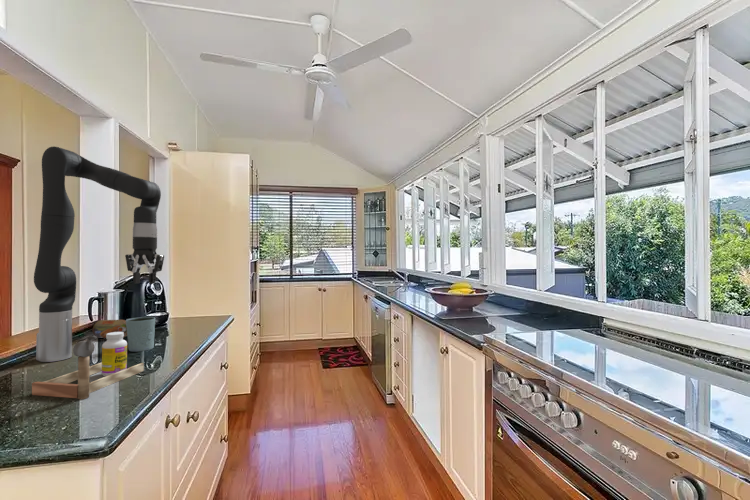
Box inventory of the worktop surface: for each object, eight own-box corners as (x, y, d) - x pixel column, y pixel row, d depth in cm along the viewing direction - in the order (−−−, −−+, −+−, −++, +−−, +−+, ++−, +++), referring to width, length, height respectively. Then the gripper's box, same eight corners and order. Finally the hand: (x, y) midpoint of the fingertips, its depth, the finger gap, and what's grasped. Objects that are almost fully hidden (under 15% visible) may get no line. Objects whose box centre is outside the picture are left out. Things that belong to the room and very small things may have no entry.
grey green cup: (156, 349, 152) (156, 319, 152) (125, 353, 147) (126, 321, 147) (153, 344, 161) (154, 315, 161) (125, 347, 155) (125, 318, 155)
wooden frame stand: (105, 368, 128) (106, 318, 128) (156, 371, 125) (156, 320, 125) (26, 396, 103) (27, 334, 103) (87, 401, 100) (88, 337, 100)
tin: (91, 339, 170) (92, 320, 170) (97, 337, 173) (97, 318, 173) (126, 339, 170) (126, 320, 170) (130, 337, 173) (131, 318, 173)
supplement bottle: (114, 377, 119) (114, 336, 119) (96, 376, 120) (96, 334, 120) (131, 371, 125) (132, 331, 125) (114, 369, 127) (115, 330, 127)
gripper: (118, 235, 135) (118, 284, 135) (155, 235, 133) (155, 284, 133) (135, 236, 143) (134, 282, 143) (170, 236, 141) (169, 283, 141)
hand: (144, 283), depth 138 cm, fingers open, 5 cm apart
